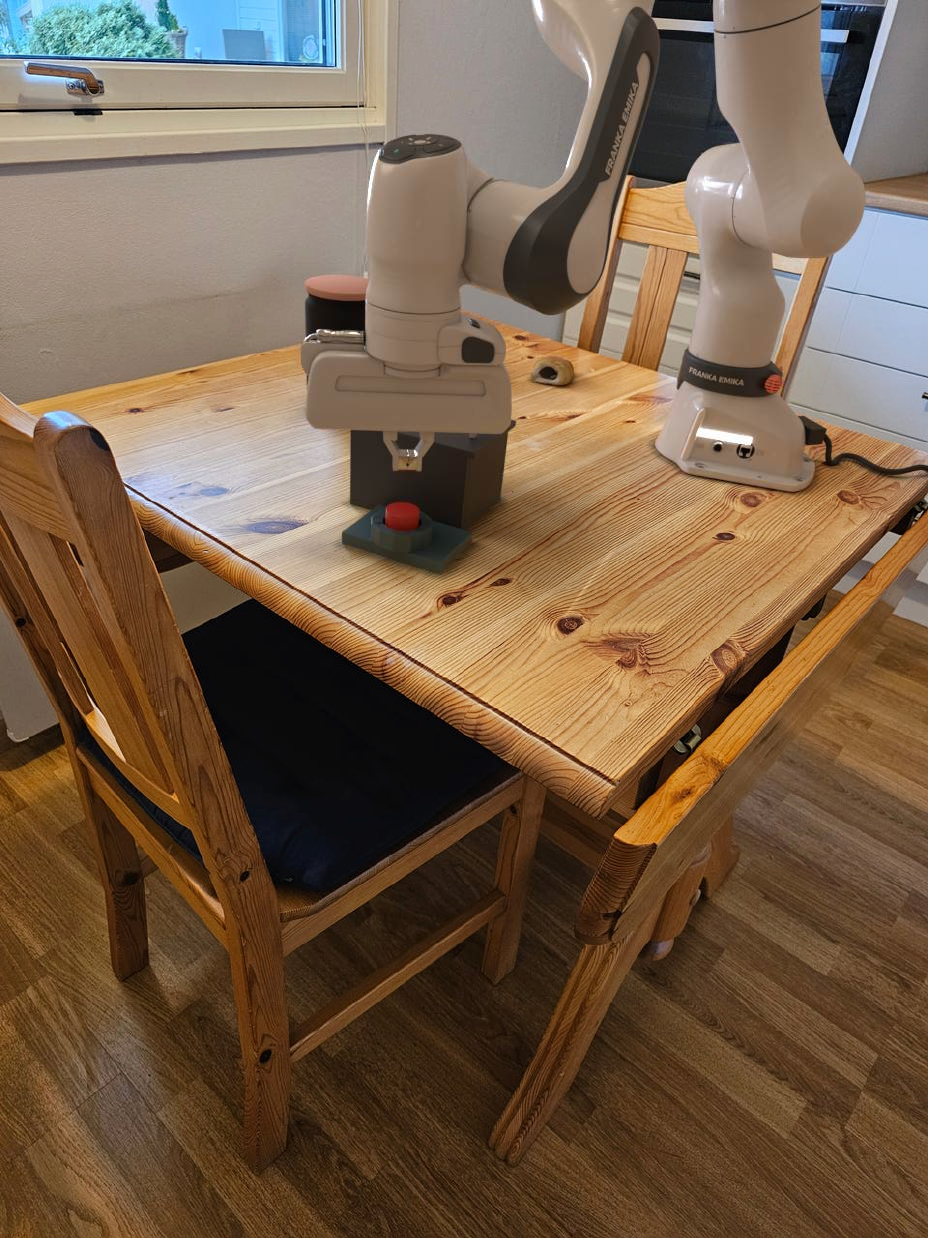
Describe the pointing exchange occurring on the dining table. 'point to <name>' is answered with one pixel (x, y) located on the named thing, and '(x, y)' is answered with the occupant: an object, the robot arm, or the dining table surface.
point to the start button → (402, 516)
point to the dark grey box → (427, 479)
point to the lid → (458, 441)
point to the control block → (408, 540)
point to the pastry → (552, 371)
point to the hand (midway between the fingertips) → (406, 469)
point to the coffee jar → (335, 304)
